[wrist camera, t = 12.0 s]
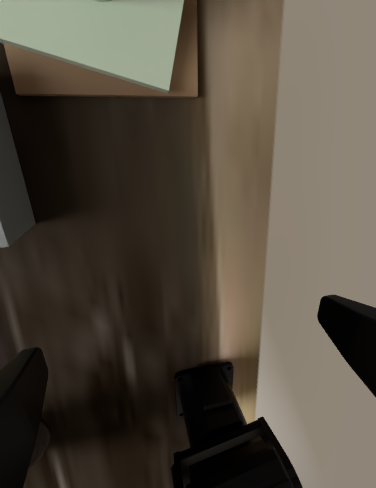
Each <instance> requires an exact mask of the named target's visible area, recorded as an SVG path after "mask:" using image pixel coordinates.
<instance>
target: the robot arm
mask: <svg viewBox="0 0 376 488" xmlns="http://www.w3.org/2000/svg"><path fill="white" fill-rule="evenodd" d="M317 317H318V321H319V323H320V324H321V326H322V327H323V329H324V330H325V332H326V333H327V334H328V336H329V337H330V339H331V340H332V342H333V343H334V345H335V346H336V347H337V349H338V350H339V352H340V353H341V355H342V356H343V357H344V359H345V360H346V362H347V363H348V364H349V365H350V367H351V368H352V369H353V370H354V372H355V373H356V374H357V375H358V376H359V378H360V379H361V380H362V381H363V382H364V384H365V385H366V386H367V387H368V389H369V390H370V391H371V392H372V393H373V395H374V396H375V397H376V308H374V307H371V306H368V305H365V304H362V303H359V302H356V301H352V300H349V299H346V298H343V297H340V296H337V295H328V296H324V297H322V298H321V301H320V305H319V310H318V315H317ZM174 378H175V394H176V409H177V416H178V417H179V418H182V417H184V420H185V424H186V429H187V434H188V438H189V443H190V448H189V449H186V450H184V451H182V452H180V451H178V452H176V453H174V464H173V466H172V468H171V471H172V478H173V485H174V488H302V485H301V483H300V480H299V478H298V476H297V474H296V472H295V470H294V467H293V466H292V464H291V462H290V460H289V458H288V457H287V455H286V453H285V452H284V450H283V449H282V447H281V445H280V443H279V442H278V440H277V438H276V437H275V435H274V434H273V432H272V430H271V429H270V427H269V426H268V424H267V422H266V421H265V419H264V417H260V418H258V420H256V421H254V422H251V423H249V424H247V422H246V420H245V418H244V416H243V413H242V411H241V409H240V407H239V404H238V402H237V400H236V397H235V395H234V393H233V391H232V383H233V365H232V363H231V362H226V363H221V364H217V365H212V366H207V367H203V368H198V369H194V370H189V371H185V372H180V373H177V374H176V375H175V377H174ZM47 380H48V368H47V365H46V362H45V359H44V356H43V352H42V350H41V349H40V348H38V347H36V348H30V349H25V350H22V351H21V352H20V353H18V354H17V355H16V356H15V357H14V358H13V359H12V360H10V361H9V362H8V363H7V364H6V365H5V366H4V367H2V368H1V369H0V488H23V486H24V482H25V479H26V475H27V472H28V468H29V465H30V461H31V458H32V454H33V451H34V447H35V443H36V439H37V435H38V430H39V425H40V419H41V414H42V408H43V402H44V397H45V391H46V386H47Z"/></svg>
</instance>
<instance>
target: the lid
mask: <svg viewBox="0 0 376 488" xmlns="http://www.w3.org/2000/svg"><path fill="white" fill-rule="evenodd" d="M183 3H184V0H0V43H4V44H7V45H10V46H13V47H17V48H20V49H23V50H27V51H30V52H33V53H36V54H40V55H43V56H46V57H49V58H53V59H56V60H59V61H63V62H66V63H69V64H72V65H76V66H79V67H82V68H85V69H89V70H92V71H95V72H99V73H102V74H105V75H108V76H112V77H115V78H118V79H121V80H125V81H128V82H131V83H135V84H138V85H141V86H144V87H148V88H151V89H154V90H157V91H161V92H164V93H168V91H169V87H170V81H171V75H172V69H173V63H174V57H175V51H176V45H177V39H178V33H179V27H180V21H181V15H182V9H183Z"/></svg>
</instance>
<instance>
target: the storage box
mask: <svg viewBox="0 0 376 488" xmlns="http://www.w3.org/2000/svg"><path fill="white" fill-rule="evenodd" d="M35 224H36V223H35V219H34V215H33V211H32V208H31V204H30V200H29V197H28V193H27V189H26V185H25V182H24V178H23V174H22V170H21V167H20V163H19V159H18V155H17V152H16V148H15V144H14V140H13V137H12V133H11V129H10V126H9V122H8V118H7V114H6V111H5V107H4V103H3V99H2V96H1V92H0V248H1V247H9V246H10V245H11V244H12V243H14V242H15V241H16V240H17V239H18V238H20V237H21V236H22V235H23V234H24V233H25V232H27V231H28V230H29V229H30V228H31V227H33V226H34V225H35Z"/></svg>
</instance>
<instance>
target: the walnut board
mask: <svg viewBox="0 0 376 488" xmlns="http://www.w3.org/2000/svg"><path fill="white" fill-rule="evenodd" d="M4 47H5V51H6V55H7V59H8V63H9V67H10V71H11V75H12V79H13V84H14V88H15V92H16V94H18V95H20V96H79V97H155V98H196V97H198V59H197V0H184V3H183V9H182V15H181V21H180V27H179V33H178V39H177V45H176V51H175V57H174V63H173V69H172V75H171V81H170V87H169V91H168V93H164V92H161V91H157V90H154V89H151V88H148V87H144V86H141V85H138V84H135V83H131V82H128V81H125V80H121V79H118V78H115V77H112V76H108V75H105V74H102V73H99V72H95V71H92V70H89V69H85V68H82V67H79V66H76V65H72V64H69V63H66V62H63V61H59V60H56V59H53V58H49V57H46V56H43V55H40V54H36V53H33V52H30V51H27V50H23V49H20V48H17V47H13V46H10V45H7V44H4Z"/></svg>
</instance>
